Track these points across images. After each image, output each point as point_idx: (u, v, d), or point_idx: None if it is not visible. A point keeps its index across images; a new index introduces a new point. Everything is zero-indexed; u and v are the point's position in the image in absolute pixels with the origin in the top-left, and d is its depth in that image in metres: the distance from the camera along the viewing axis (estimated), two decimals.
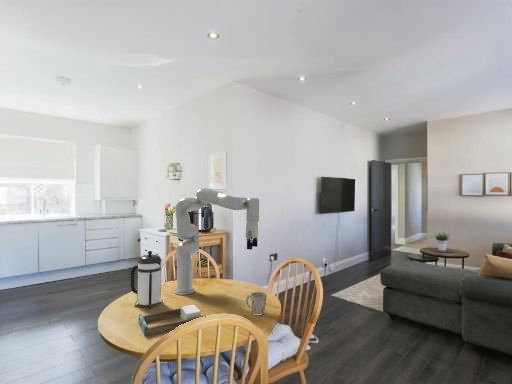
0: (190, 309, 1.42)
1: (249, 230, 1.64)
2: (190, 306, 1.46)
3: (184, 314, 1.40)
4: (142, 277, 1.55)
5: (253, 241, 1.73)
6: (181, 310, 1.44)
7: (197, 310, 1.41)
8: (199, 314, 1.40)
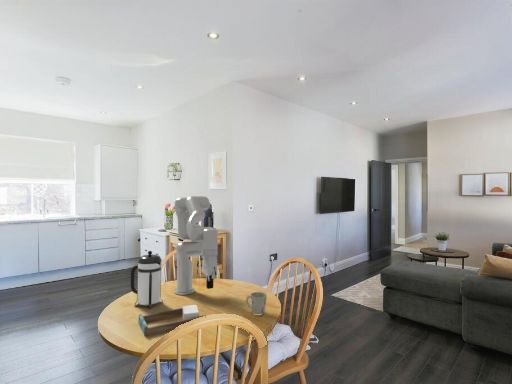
0: (189, 309, 1.42)
1: (213, 266, 1.44)
2: (192, 306, 1.46)
3: (183, 314, 1.40)
4: (142, 277, 1.55)
5: None
6: (182, 309, 1.45)
7: (196, 311, 1.41)
8: (197, 315, 1.39)
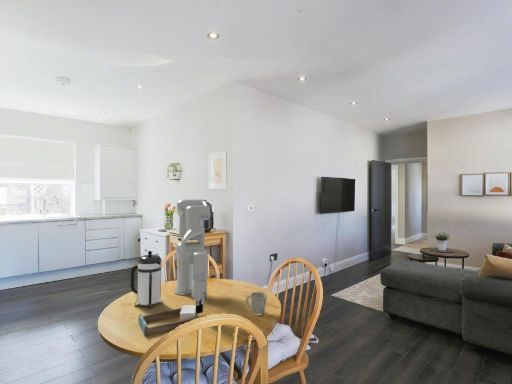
0: (187, 309, 1.42)
1: (203, 291, 1.41)
2: (191, 306, 1.46)
3: None
4: (142, 277, 1.55)
5: None
6: None
7: (192, 311, 1.40)
8: (193, 316, 1.38)
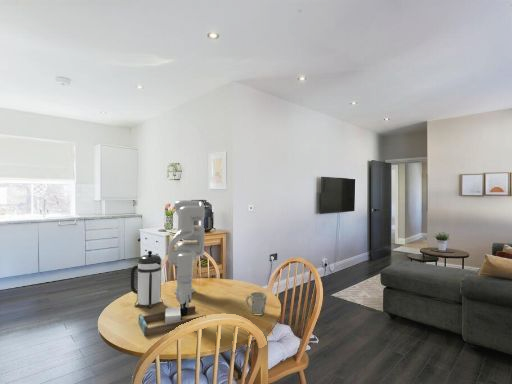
0: (171, 312, 1.38)
1: (187, 294, 1.37)
2: (175, 308, 1.43)
3: None
4: (142, 277, 1.55)
5: None
6: None
7: (178, 313, 1.37)
8: (179, 318, 1.35)
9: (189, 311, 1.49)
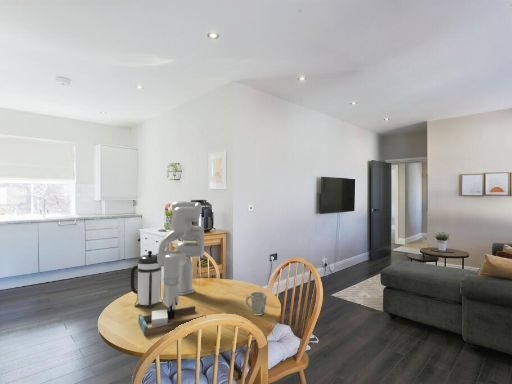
0: (158, 315, 1.35)
1: (174, 296, 1.34)
2: (161, 311, 1.39)
3: None
4: (142, 277, 1.55)
5: None
6: None
7: (165, 316, 1.33)
8: (166, 321, 1.32)
9: (189, 311, 1.49)
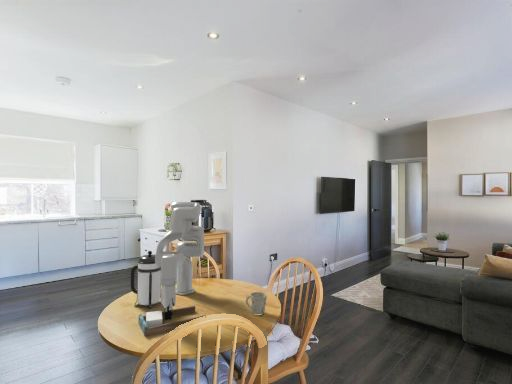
0: (153, 316, 1.34)
1: (171, 297, 1.33)
2: (156, 312, 1.38)
3: None
4: (142, 277, 1.55)
5: None
6: None
7: (159, 317, 1.32)
8: (161, 322, 1.31)
9: (189, 311, 1.49)
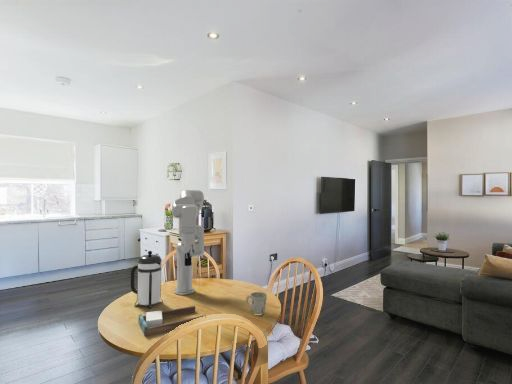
0: (153, 316, 1.34)
1: (191, 244, 1.42)
2: (156, 312, 1.38)
3: None
4: (142, 277, 1.55)
5: None
6: None
7: (159, 317, 1.32)
8: (161, 322, 1.31)
9: (189, 311, 1.49)
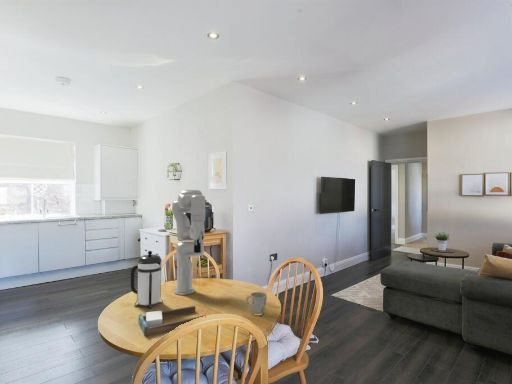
0: (153, 316, 1.34)
1: (200, 231, 1.49)
2: (156, 312, 1.38)
3: None
4: (142, 277, 1.55)
5: None
6: None
7: (159, 317, 1.32)
8: (161, 322, 1.31)
9: (189, 311, 1.49)
